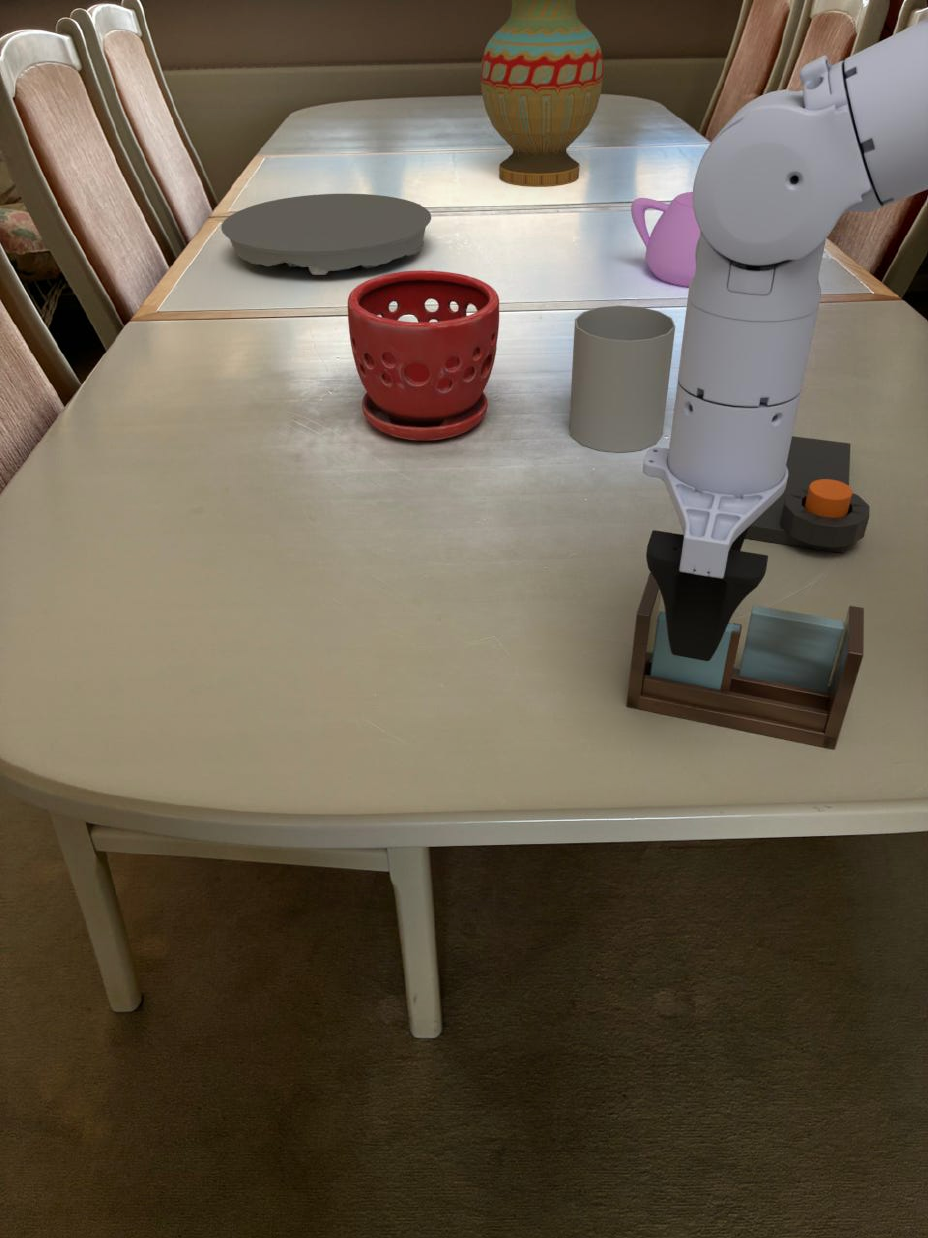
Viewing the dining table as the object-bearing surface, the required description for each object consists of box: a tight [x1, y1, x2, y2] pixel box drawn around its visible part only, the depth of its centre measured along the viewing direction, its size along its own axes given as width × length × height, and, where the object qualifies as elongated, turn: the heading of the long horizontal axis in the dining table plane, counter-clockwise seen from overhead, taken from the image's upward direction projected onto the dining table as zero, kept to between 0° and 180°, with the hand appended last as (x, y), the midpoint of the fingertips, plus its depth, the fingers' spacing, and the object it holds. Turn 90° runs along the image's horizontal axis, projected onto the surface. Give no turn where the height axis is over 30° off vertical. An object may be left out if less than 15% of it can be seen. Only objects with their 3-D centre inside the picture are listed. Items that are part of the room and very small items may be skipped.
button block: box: [745, 435, 870, 554], centre depth 76 cm, size 18×11×3 cm, turn 161°
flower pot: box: [347, 269, 500, 442], centre depth 86 cm, size 13×13×12 cm
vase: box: [480, 0, 604, 187], centre depth 155 cm, size 20×20×30 cm
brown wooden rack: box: [625, 571, 865, 750], centre depth 56 cm, size 12×4×7 cm, turn 71°
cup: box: [568, 304, 676, 454], centre depth 84 cm, size 8×8×10 cm
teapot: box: [630, 191, 701, 288], centre depth 118 cm, size 14×20×11 cm
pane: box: [650, 610, 743, 691], centre depth 55 cm, size 5×1×7 cm, turn 71°
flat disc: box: [220, 193, 432, 276], centre depth 130 cm, size 28×28×4 cm
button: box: [805, 479, 854, 518], centre depth 70 cm, size 3×3×2 cm
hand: (700, 612), depth 54 cm, fingers open, 7 cm apart
